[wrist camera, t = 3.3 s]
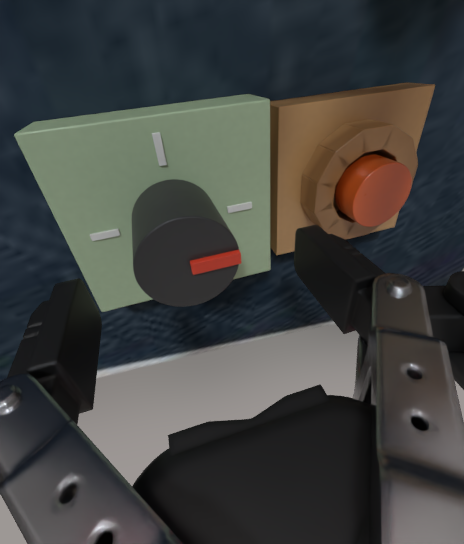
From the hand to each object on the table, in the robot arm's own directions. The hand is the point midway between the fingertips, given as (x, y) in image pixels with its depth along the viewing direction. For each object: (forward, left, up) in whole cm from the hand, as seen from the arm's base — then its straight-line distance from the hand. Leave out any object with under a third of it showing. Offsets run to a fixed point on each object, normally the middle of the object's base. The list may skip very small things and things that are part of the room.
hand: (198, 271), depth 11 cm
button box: (+11, 0, -9) cm, 14 cm away
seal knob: (0, 0, -6) cm, 6 cm away
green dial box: (0, 0, -9) cm, 9 cm away
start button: (+11, 0, -5) cm, 12 cm away
